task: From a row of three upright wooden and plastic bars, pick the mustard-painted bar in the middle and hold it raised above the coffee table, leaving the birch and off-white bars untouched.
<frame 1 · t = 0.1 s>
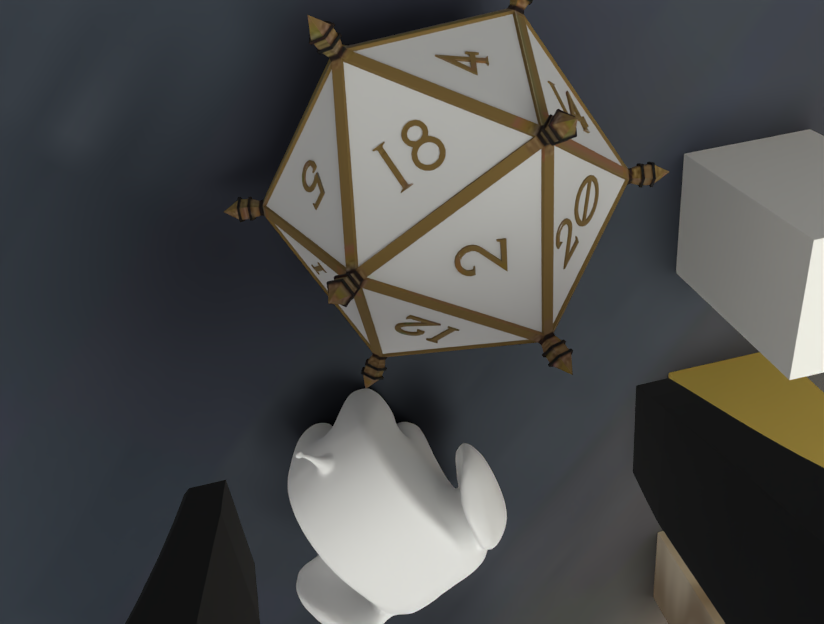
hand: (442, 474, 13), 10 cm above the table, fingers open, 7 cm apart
mustard bar: (717, 404, 28), on the table
off-white bar: (740, 203, 24), on the table
elephant figurine: (371, 437, 26), on the table
game die: (408, 135, 21), on the table
birch bar: (700, 553, 32), on the table
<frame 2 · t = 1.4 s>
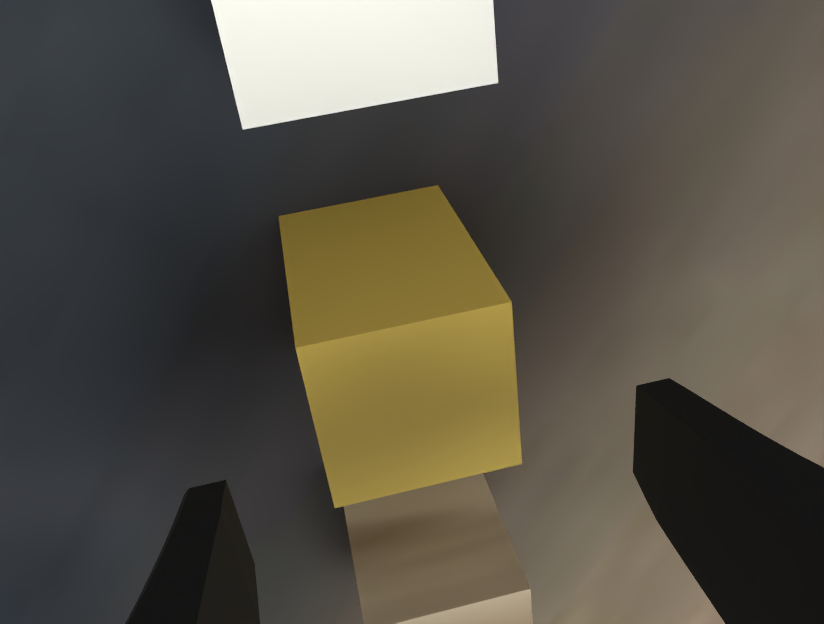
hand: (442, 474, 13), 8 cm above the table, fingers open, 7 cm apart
mustard bar: (371, 271, 20), on the table
birch bar: (409, 493, 24), on the table
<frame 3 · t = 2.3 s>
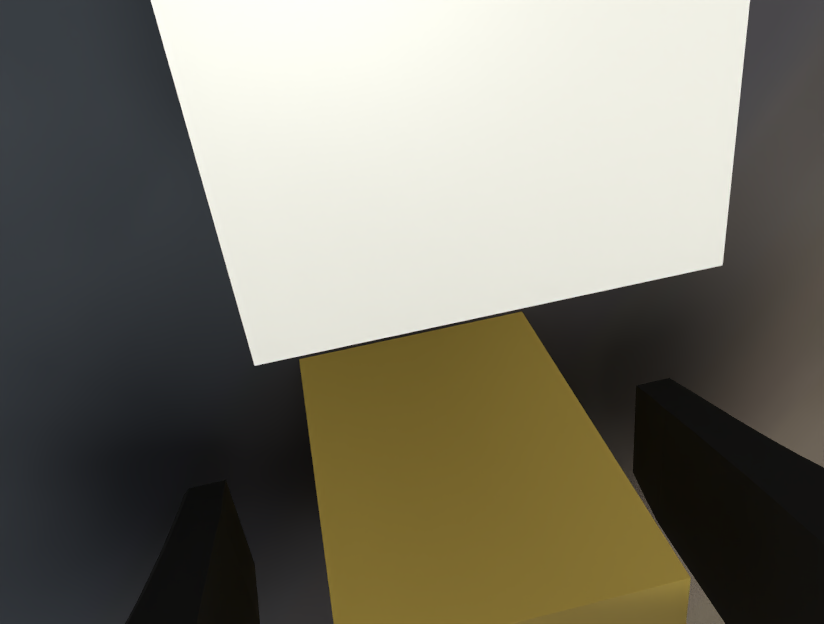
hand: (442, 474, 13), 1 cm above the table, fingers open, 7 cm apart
mustard bar: (424, 422, 15), on the table
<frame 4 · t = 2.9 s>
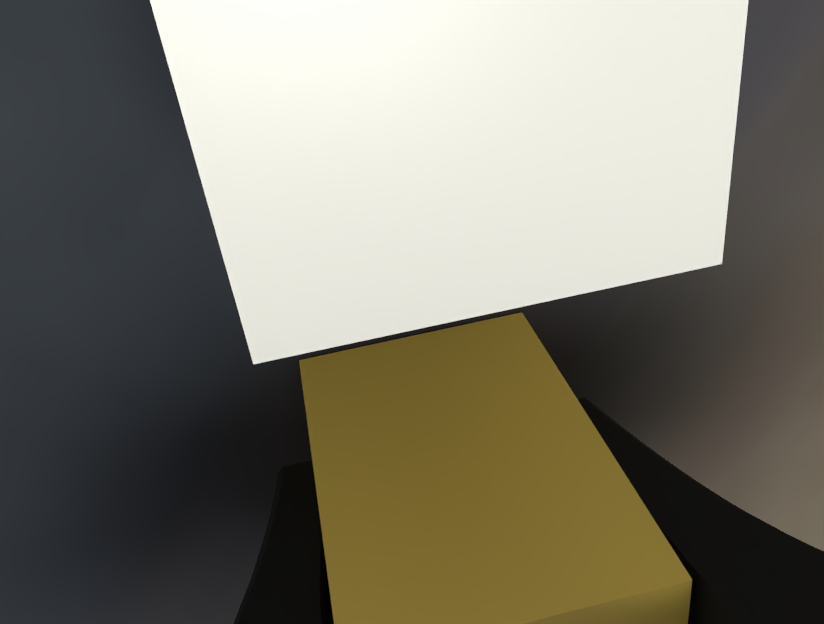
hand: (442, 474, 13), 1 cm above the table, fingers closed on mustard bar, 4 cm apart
mustard bar: (425, 423, 15), on the table, touching gripper
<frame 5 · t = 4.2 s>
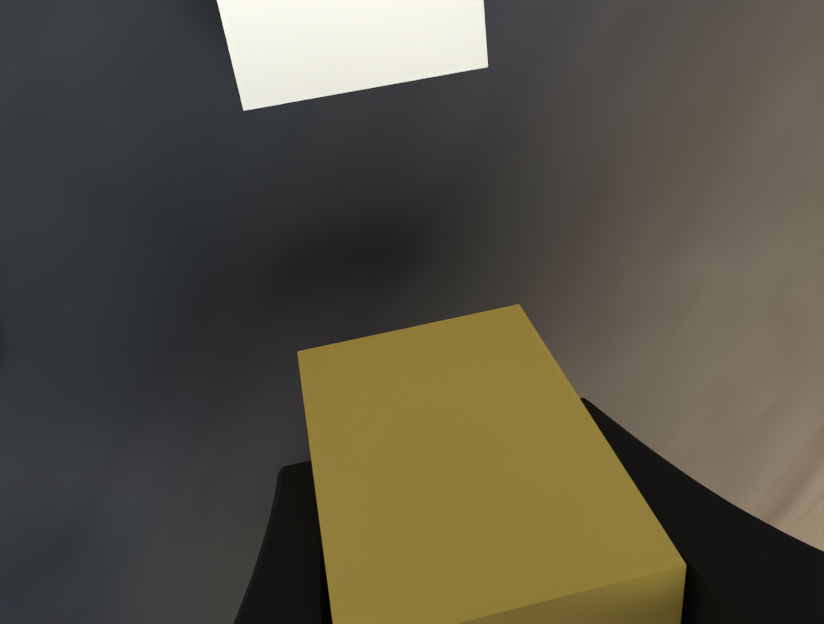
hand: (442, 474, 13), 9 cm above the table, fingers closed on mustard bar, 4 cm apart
mustard bar: (422, 415, 15), point 7 cm above the table, touching gripper
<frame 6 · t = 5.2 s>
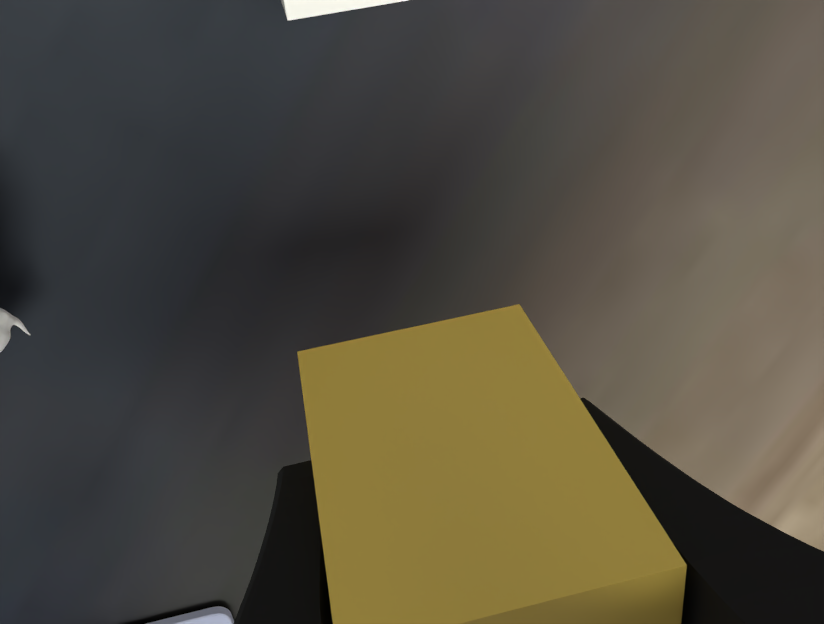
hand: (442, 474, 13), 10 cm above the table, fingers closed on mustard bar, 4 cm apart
mustard bar: (423, 415, 15), point 8 cm above the table, touching gripper
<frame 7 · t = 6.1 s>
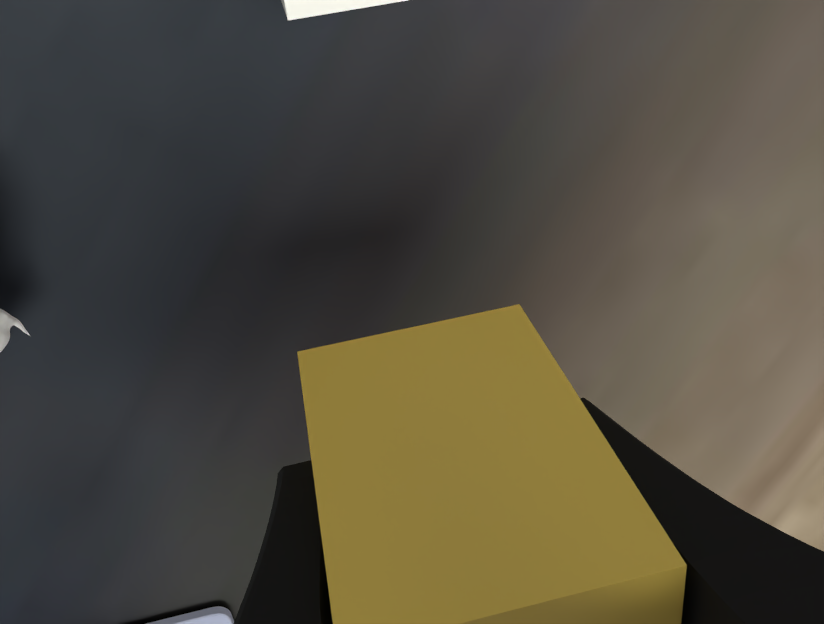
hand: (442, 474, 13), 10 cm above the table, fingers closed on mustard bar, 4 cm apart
mustard bar: (423, 415, 15), point 8 cm above the table, touching gripper
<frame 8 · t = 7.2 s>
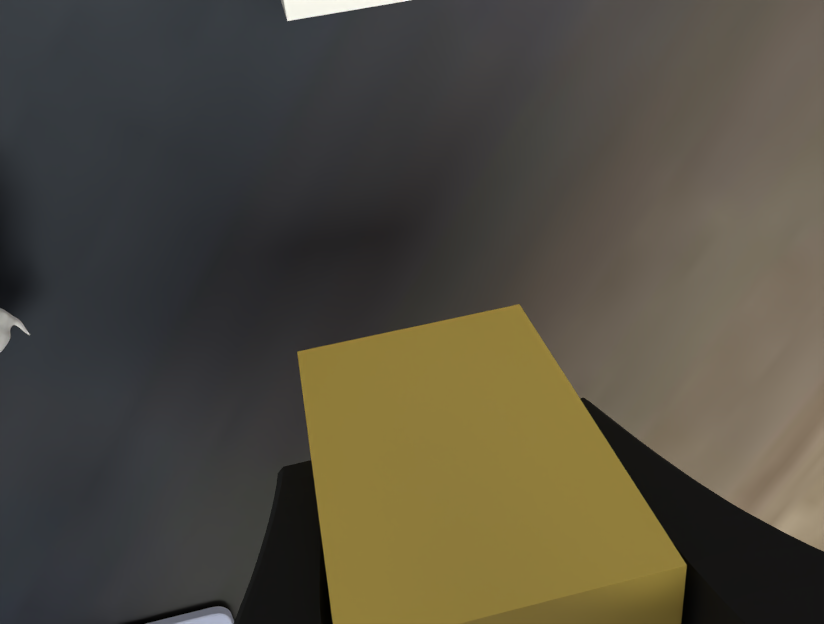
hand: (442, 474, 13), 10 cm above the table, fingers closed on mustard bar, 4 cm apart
mustard bar: (423, 415, 15), point 8 cm above the table, touching gripper
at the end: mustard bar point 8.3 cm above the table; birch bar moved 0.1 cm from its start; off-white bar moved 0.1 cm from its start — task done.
